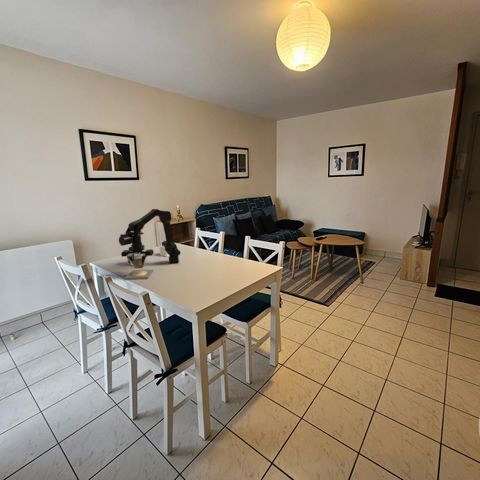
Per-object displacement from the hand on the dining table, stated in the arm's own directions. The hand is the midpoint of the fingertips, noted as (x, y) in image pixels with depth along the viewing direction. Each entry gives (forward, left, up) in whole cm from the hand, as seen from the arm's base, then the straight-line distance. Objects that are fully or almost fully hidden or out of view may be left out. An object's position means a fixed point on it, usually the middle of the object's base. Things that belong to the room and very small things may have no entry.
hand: (139, 265), depth 168 cm
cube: (0, 0, -1) cm, 1 cm away
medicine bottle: (-8, -45, -7) cm, 46 cm away
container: (+11, -25, -7) cm, 28 cm away
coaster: (0, 0, -7) cm, 7 cm away
